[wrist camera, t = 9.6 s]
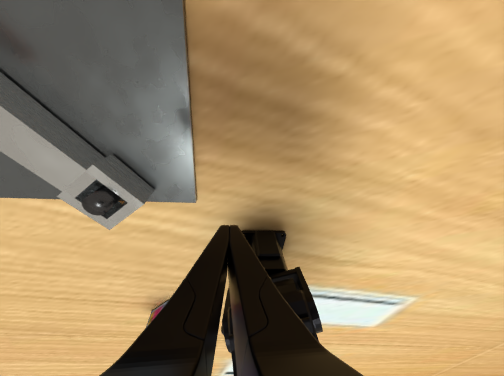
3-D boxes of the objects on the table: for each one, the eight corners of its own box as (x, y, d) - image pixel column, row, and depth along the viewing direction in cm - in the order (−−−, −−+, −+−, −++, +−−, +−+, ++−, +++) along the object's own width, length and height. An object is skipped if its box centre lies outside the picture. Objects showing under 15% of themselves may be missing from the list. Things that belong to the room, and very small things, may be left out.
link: (154, 190, 20) (144, 204, 17) (123, 213, 21) (109, 229, 18) (-70, 0, 12) (-150, -23, 9) (-101, 55, 13) (-180, 47, 10)
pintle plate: (196, 200, 22) (188, 224, 18) (-14, 194, 19) (-79, 221, 15) (182, -22, 13) (159, -72, 9) (-224, -95, 10) (-529, -218, 6)
